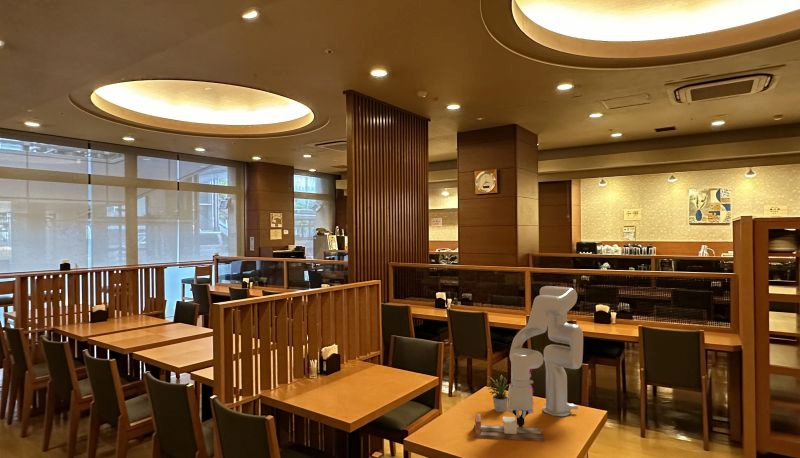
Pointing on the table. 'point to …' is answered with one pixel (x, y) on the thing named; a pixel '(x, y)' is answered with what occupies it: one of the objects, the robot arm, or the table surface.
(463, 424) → the table surface
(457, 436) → the table surface
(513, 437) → the rail board
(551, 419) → the table surface
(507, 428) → the block
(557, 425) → the table surface
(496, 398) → the house plant
